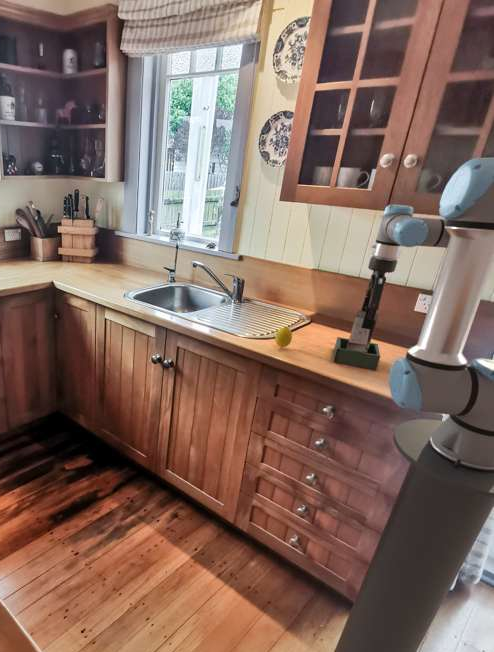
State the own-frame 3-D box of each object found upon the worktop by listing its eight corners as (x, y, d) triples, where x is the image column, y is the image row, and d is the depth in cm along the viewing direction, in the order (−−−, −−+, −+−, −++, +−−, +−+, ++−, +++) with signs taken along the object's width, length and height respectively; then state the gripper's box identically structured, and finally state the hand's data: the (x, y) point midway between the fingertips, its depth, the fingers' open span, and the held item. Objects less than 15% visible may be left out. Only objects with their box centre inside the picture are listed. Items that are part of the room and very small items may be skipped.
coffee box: (362, 366, 155) (376, 320, 148) (342, 361, 158) (355, 316, 150) (365, 357, 162) (379, 313, 155) (345, 353, 165) (358, 309, 157)
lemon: (273, 349, 164) (277, 328, 161) (273, 343, 169) (278, 323, 166) (289, 352, 163) (294, 330, 159) (289, 346, 168) (294, 325, 164)
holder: (375, 370, 153) (380, 356, 150) (333, 362, 157) (337, 348, 155) (373, 357, 162) (377, 343, 160) (333, 349, 167) (337, 336, 165)
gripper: (369, 249, 156) (352, 309, 165) (373, 264, 135) (353, 331, 145) (394, 252, 153) (375, 313, 163) (402, 267, 133) (380, 336, 142)
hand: (365, 322), depth 154 cm, fingers open, 13 cm apart
